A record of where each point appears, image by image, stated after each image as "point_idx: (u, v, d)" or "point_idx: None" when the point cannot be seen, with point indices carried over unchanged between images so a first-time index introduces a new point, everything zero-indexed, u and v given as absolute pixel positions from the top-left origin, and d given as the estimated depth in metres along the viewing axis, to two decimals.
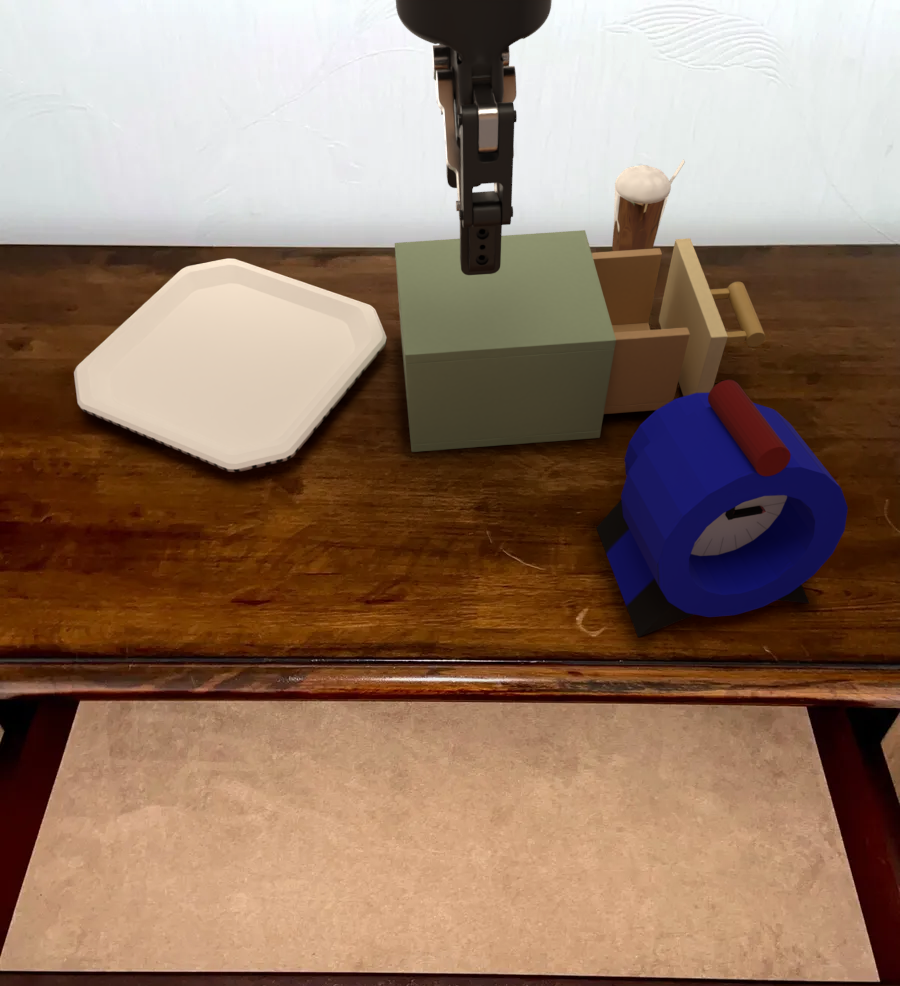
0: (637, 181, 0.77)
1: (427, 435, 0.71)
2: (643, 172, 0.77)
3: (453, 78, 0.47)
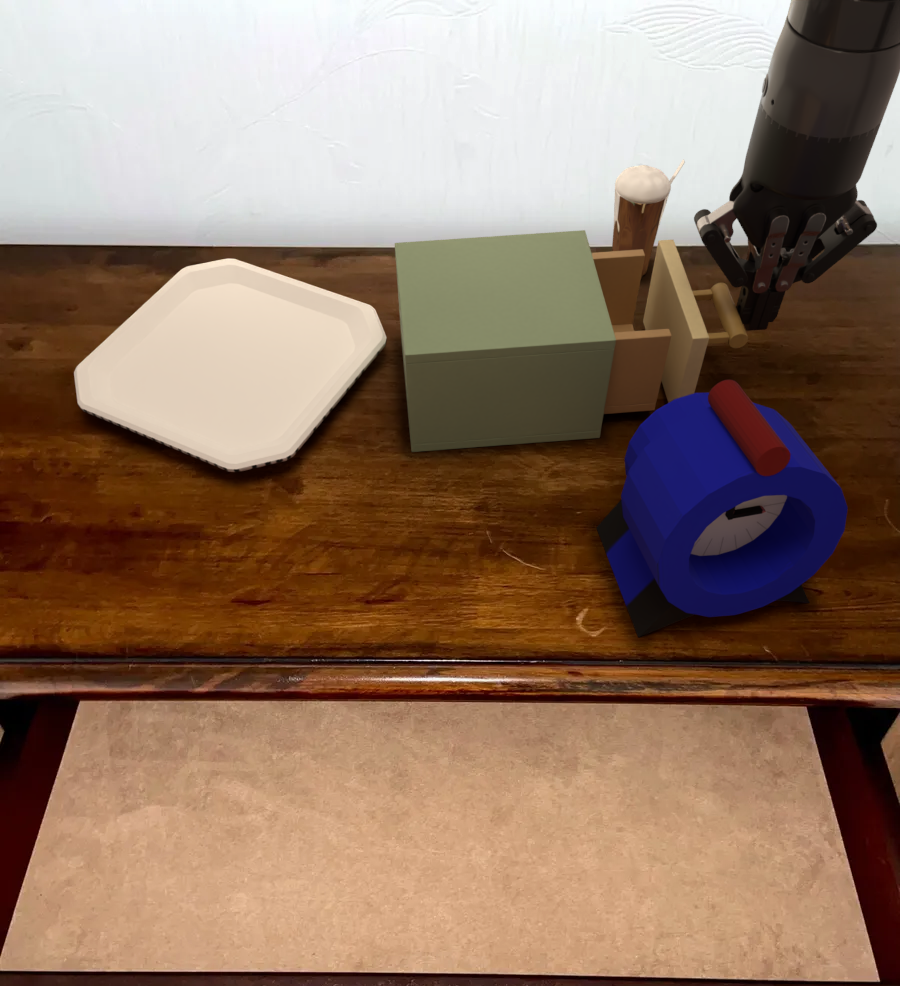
0: (637, 181, 0.77)
1: (427, 435, 0.71)
2: (643, 172, 0.77)
3: None
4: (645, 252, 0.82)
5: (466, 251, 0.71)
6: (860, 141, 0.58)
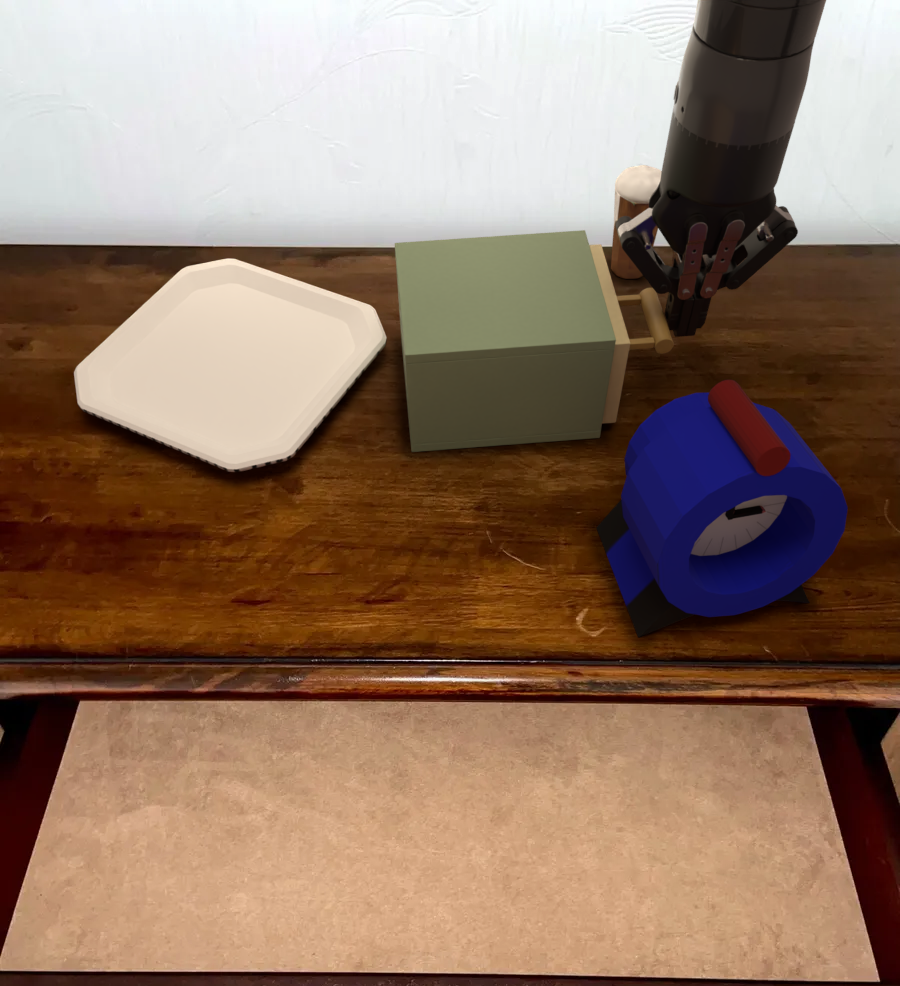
0: (637, 181, 0.77)
1: (427, 435, 0.71)
2: (643, 172, 0.77)
3: None
4: None
5: (466, 251, 0.71)
6: (770, 148, 0.58)
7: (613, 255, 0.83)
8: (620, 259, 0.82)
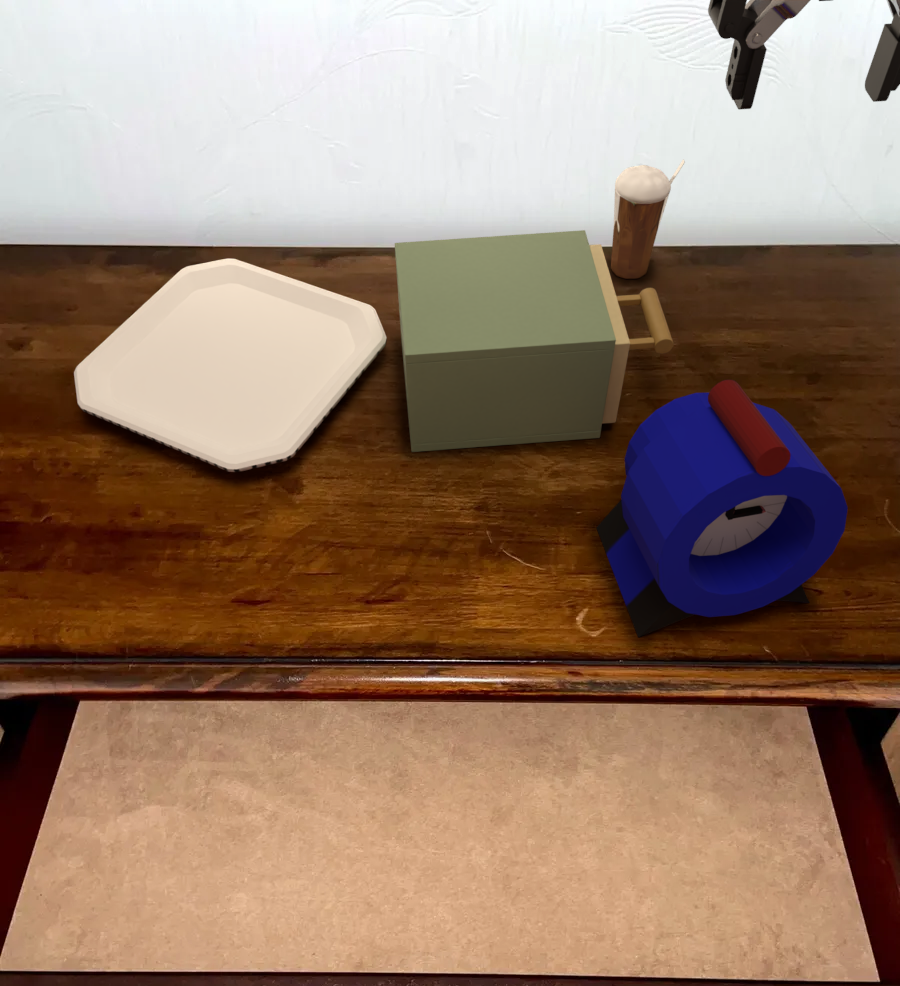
0: (637, 181, 0.77)
1: (427, 435, 0.71)
2: (643, 172, 0.77)
3: None
4: (645, 252, 0.82)
5: (466, 251, 0.71)
6: None
7: (613, 255, 0.83)
8: (620, 259, 0.82)
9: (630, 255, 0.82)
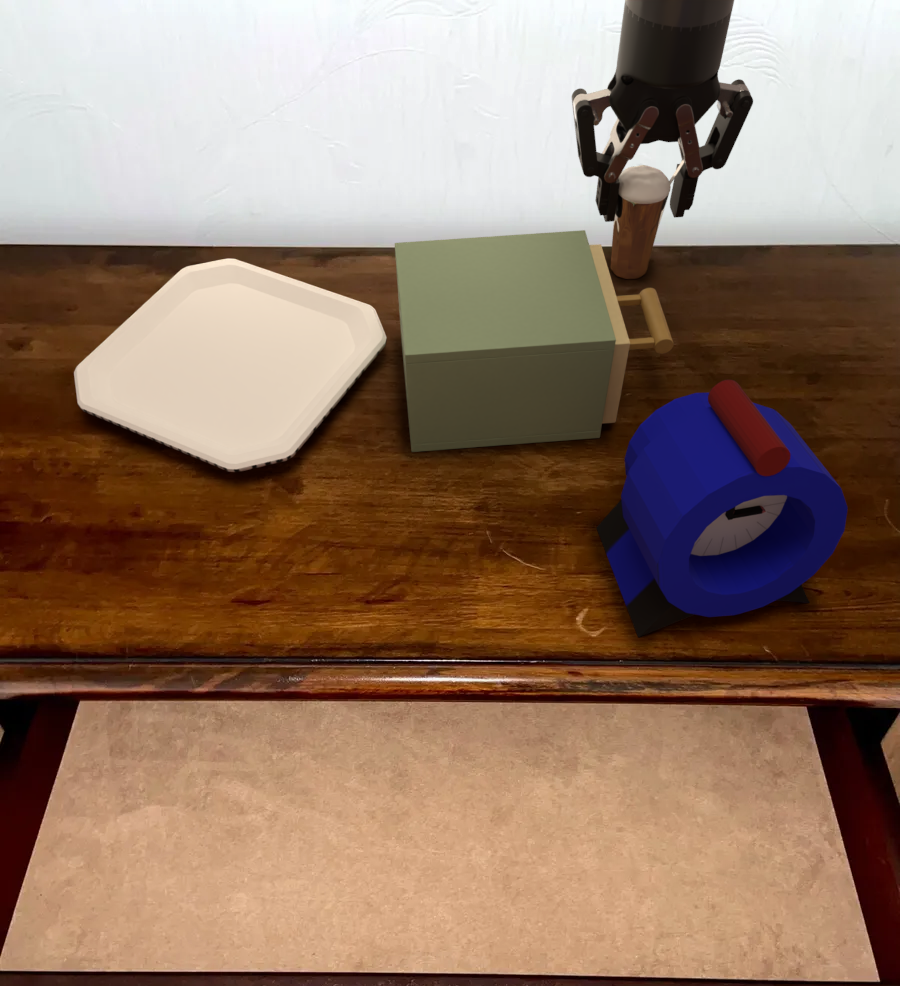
0: (637, 181, 0.77)
1: (427, 435, 0.71)
2: (643, 172, 0.77)
3: None
4: (645, 252, 0.82)
5: (466, 251, 0.71)
6: (710, 31, 0.65)
7: (613, 255, 0.83)
8: (620, 259, 0.82)
9: (630, 255, 0.82)
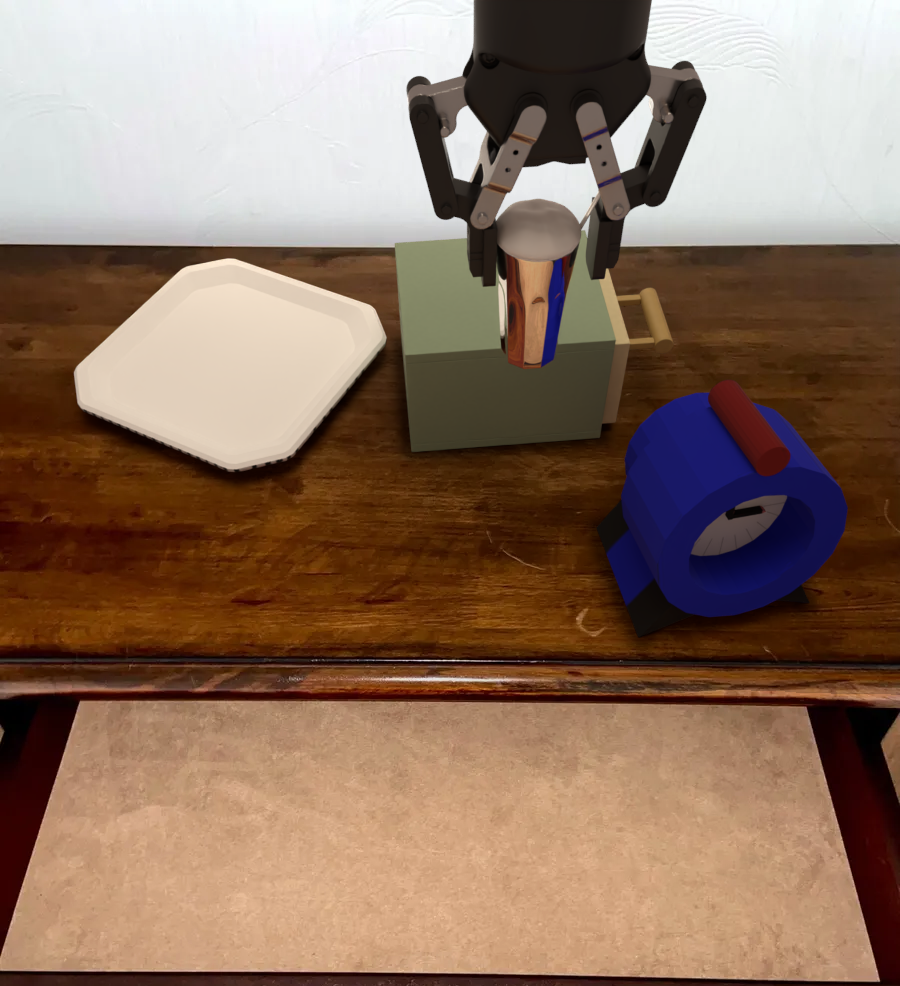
0: (525, 226, 0.48)
1: (427, 435, 0.71)
2: (536, 211, 0.49)
3: None
4: (548, 331, 0.53)
5: (466, 251, 0.71)
6: None
7: (502, 334, 0.54)
8: (511, 341, 0.54)
9: (525, 336, 0.53)
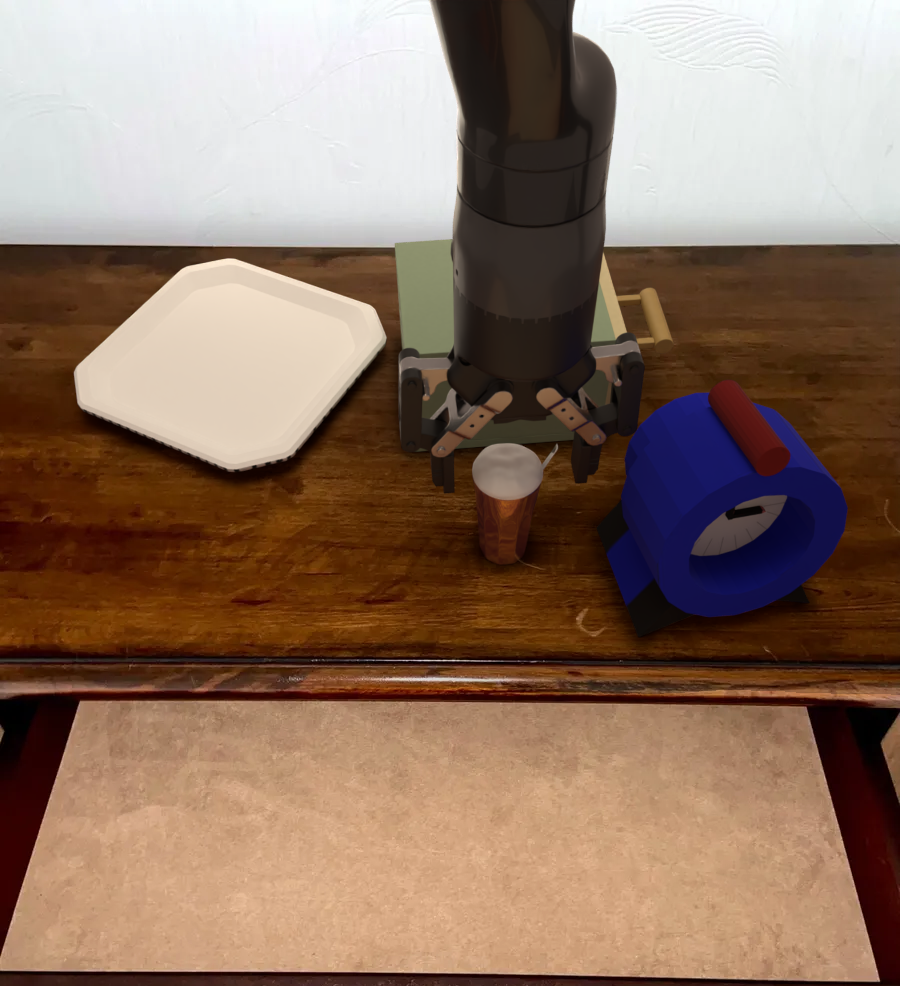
0: (497, 473, 0.59)
1: None
2: (506, 458, 0.60)
3: None
4: (518, 540, 0.64)
5: None
6: (564, 320, 0.47)
7: (480, 537, 0.66)
8: (488, 545, 0.65)
9: (499, 544, 0.64)
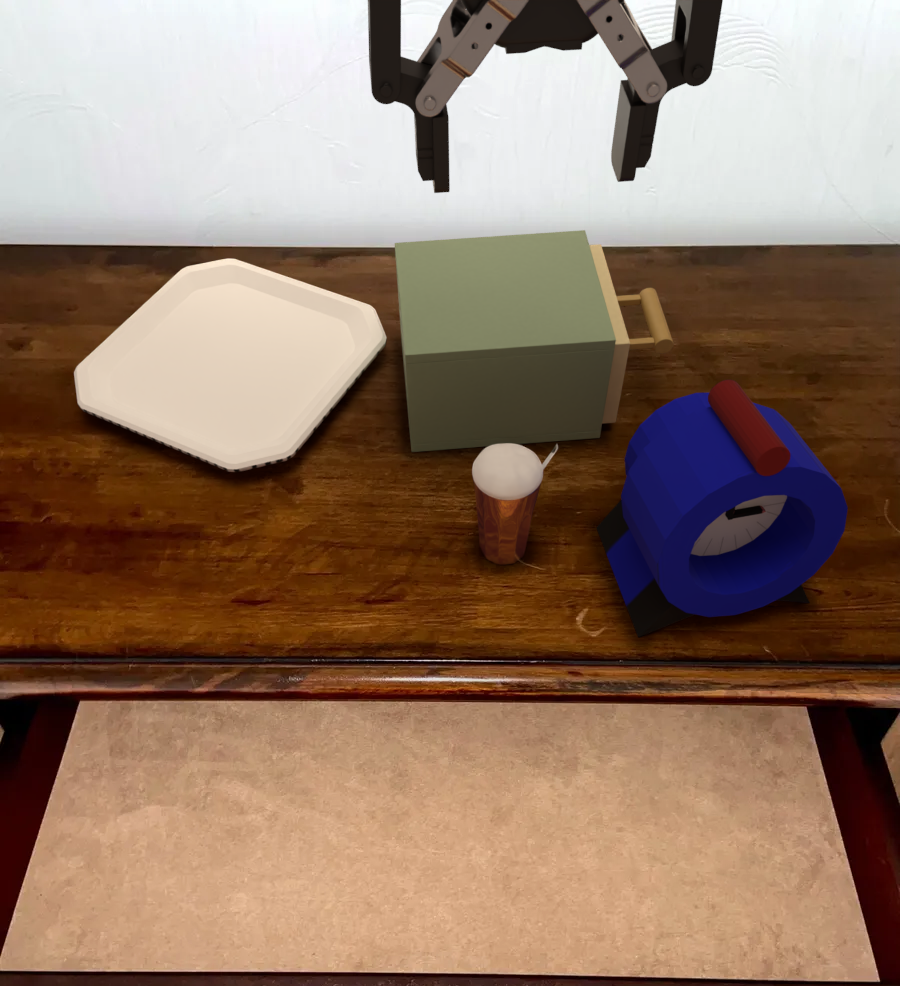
0: (497, 473, 0.59)
1: (427, 435, 0.71)
2: (506, 458, 0.60)
3: None
4: (518, 540, 0.64)
5: (466, 251, 0.71)
6: None
7: (480, 537, 0.66)
8: (488, 545, 0.65)
9: (499, 544, 0.64)
